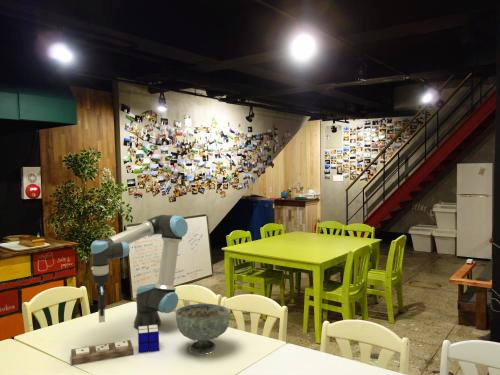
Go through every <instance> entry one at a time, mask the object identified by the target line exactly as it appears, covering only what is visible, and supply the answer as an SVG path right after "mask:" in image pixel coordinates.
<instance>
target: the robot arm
mask: <svg viewBox="0 0 500 375" xmlns="http://www.w3.org/2000/svg"><path fill="white" fill-rule="evenodd" d="M188 227H189V226H188V222H187V220H186V219H185V217H183V216H179V215H177V214H176V215H174V214H173V215H171V214H159V215H155V216H153V217H150V218H148V219H146V220H143V222H142V223H141V224H138V225H136V226H133V227H131V228H128V229H126V230H124V231H122V232H119V233H116V234H114V235H112V236H109V237H106V238H104V239H101V240H100V239H97V240H94V241H92V243H91V245H90V252H91V268H90V270H92V271H91V272H92V276H91V278H92V280H91V281H92V283H93V284H97V285H96V293H97V306H98V307H97V310H98V323H105V322H106V317H105V316H106V314H105V313H106V311H105V309H106V307H107V306H106V305H105V303H106V301H105V299H106V298H105V297H106V296H105V295H106V285H105V283H107V282H109V281H110V275H109V272H110V269H109V268H110V267H109V261H110V260H115V259H120V258H124V257H127V256H128V255H130V249H131V248H130V244H133V243H134V242H137V241H139V240H141V239H143V238H146V237H152V236H156V235H161V239H162V241H163V245H162V252H161V259H160V265H159V266H160V267H159V274H158V282H157V284H146V285H140V286H138V287H137V288H136V293H135V295H136V315H135V319H134V322H133V328H135V329H136V330H138V327H140V326H149V325H158V326H159V327H160V326H161V325H162V320H161V317H160V314H159V313H162V314H169V313H172V312H173V311H174V310H176V308H177V306H178V304H179V296H178V294H177V293H176V287H175V286H174V282H175V274H176V267H177V260H178V251H179V244H180V243H181V241H182V240H183V238H184V236H186V234H187V233H188V229H189V228H188Z"/></svg>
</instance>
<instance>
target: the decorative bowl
mask: <svg viewBox="0 0 500 375" xmlns="http://www.w3.org/2000/svg"><path fill="white" fill-rule="evenodd" d="M230 313H231V310H230V309H229V308H228V307H226V306H224V305H220V304H214V303H194V304H188V305H184V306H182V307H179V308H178V309H176V311H175V322H176V325H177V329H178V331H179V332H180V333H181V335H182V336H183V337H186V338H187V339H189V340H192V341H194V342H193V343H192V344H191V345H190V346H189V351H190V353H191V354H194V355H200V354H203V355H207V354H206V353H209V354H211V353H210V352H212V351H213V352H214V351H215V350H216V344H215V343H214V342H213V341H212V340H214V339H217V338H219V337H220V336H221V335H223V334H225V333H226V331H227V330H228V328H229V324H230V315H231V314H230ZM213 352H212V353H213Z"/></svg>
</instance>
